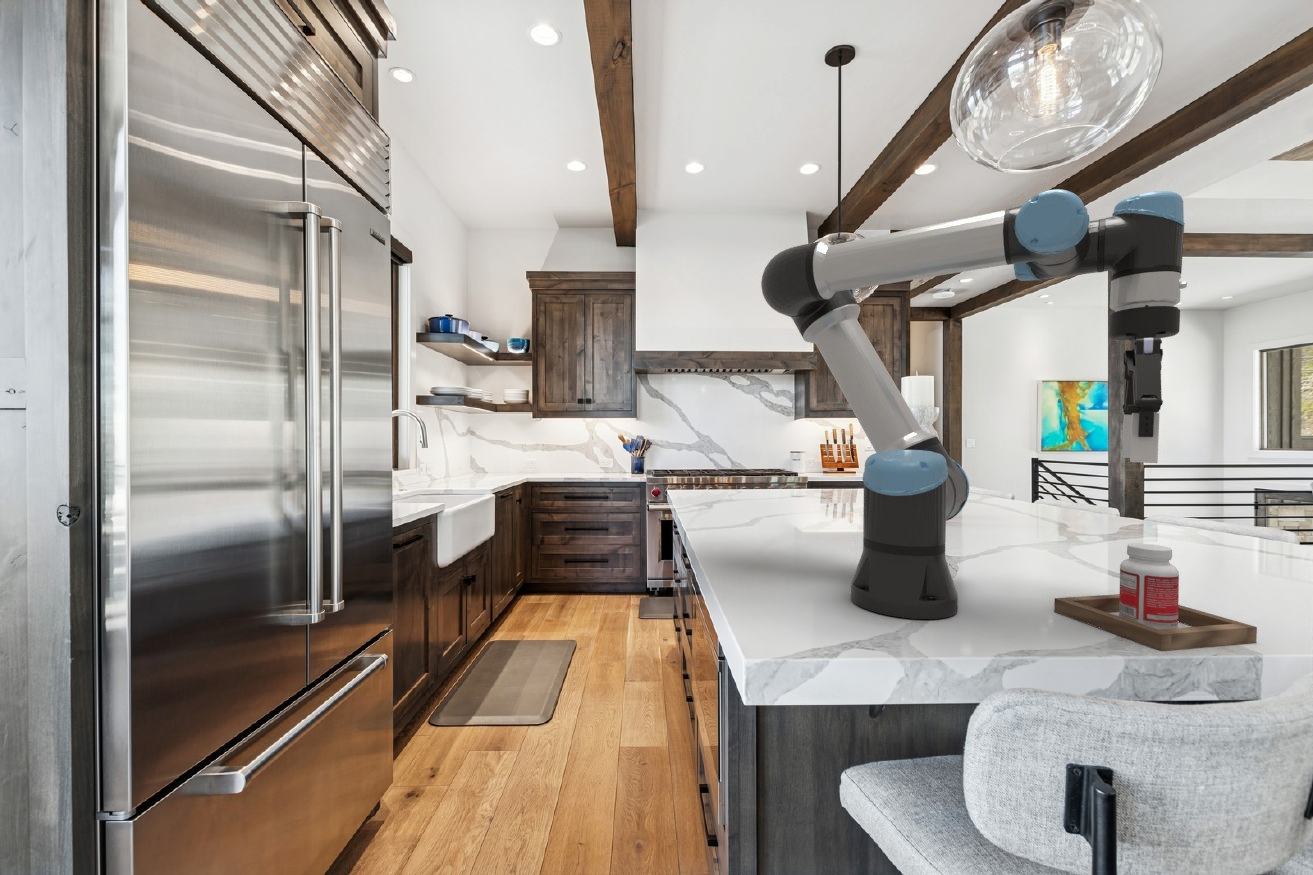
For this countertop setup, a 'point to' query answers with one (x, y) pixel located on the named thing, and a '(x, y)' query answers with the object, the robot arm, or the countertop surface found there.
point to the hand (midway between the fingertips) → (1138, 460)
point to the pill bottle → (1149, 586)
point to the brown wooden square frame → (1202, 634)
